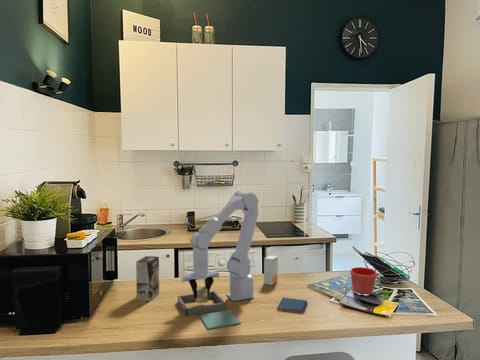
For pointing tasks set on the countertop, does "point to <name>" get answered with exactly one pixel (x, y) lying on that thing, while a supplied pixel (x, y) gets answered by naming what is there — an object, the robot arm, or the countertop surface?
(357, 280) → the flower pot
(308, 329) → the countertop surface
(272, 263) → the skincare box
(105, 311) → the countertop surface
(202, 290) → the maple block
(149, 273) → the coffee box
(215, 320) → the teal board
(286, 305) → the dark blue flat block
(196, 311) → the gray rectangular frame
